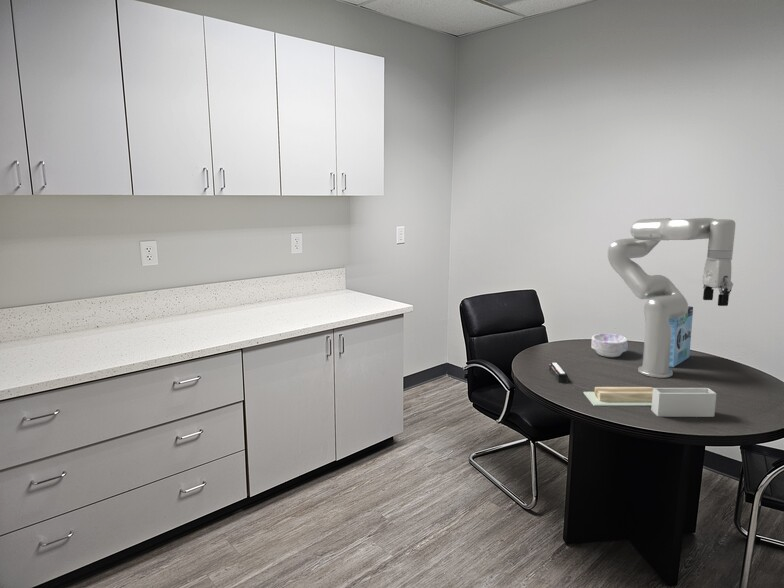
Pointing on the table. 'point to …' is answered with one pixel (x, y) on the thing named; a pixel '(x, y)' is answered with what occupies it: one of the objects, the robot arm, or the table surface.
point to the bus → (558, 372)
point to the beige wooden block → (624, 393)
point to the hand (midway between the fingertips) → (715, 302)
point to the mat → (596, 402)
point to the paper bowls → (609, 344)
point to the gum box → (680, 338)
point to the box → (683, 402)
